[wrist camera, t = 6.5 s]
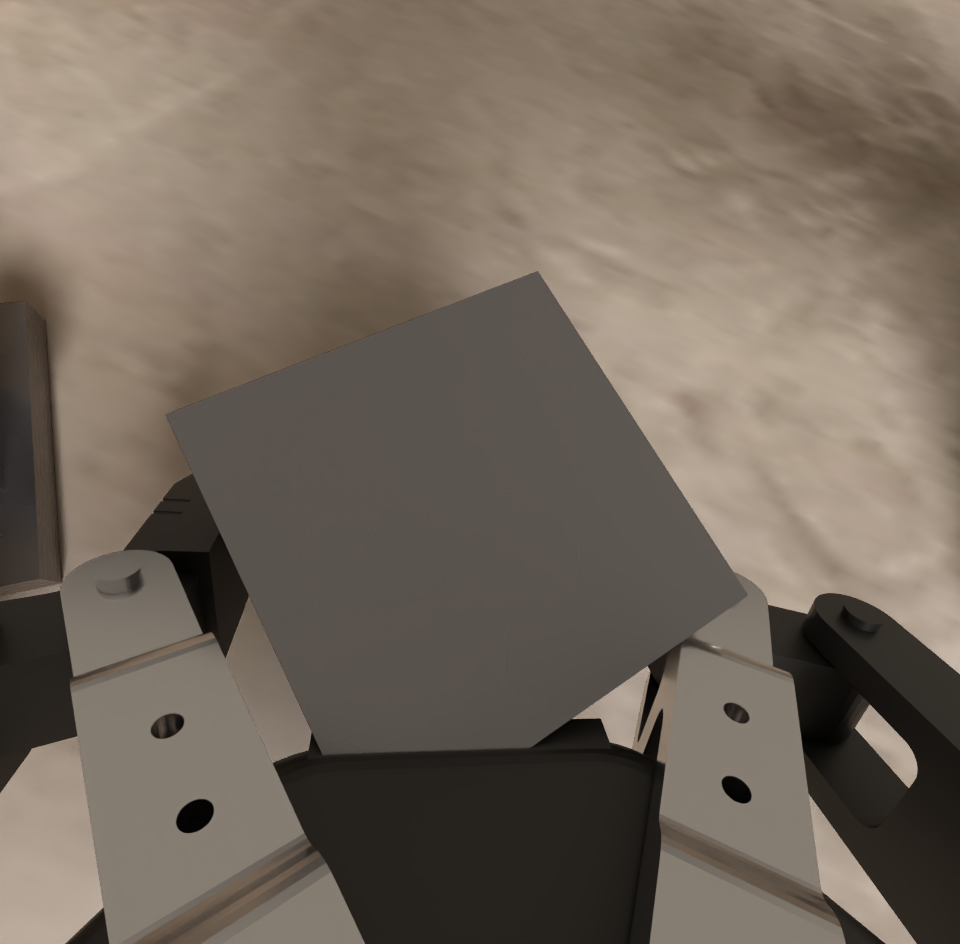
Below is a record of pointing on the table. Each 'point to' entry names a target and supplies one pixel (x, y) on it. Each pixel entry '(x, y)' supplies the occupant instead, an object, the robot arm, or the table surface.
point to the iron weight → (453, 528)
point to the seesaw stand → (26, 455)
